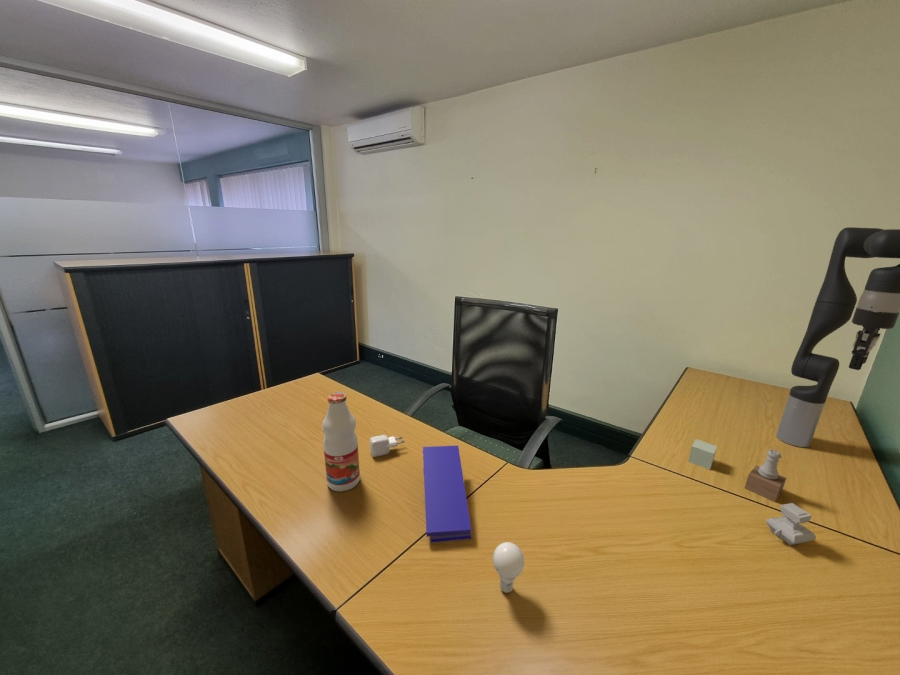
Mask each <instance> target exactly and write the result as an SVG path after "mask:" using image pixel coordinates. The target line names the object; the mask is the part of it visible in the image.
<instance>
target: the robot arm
mask: <svg viewBox="0 0 900 675" xmlns="http://www.w3.org/2000/svg"><path fill="white" fill-rule="evenodd" d="M846 258H855V259H856V258H858V259H859V258H860V259H873V258H882V259H900V229H899V228H898V229H897V228H896V229H895V228H894V229H893V228H891V229H890V228H889V229H883V228H877V227H855V226H854V227H849V226H848V227H844V228H842V229H841V230H840V231H839V232H838V234H837V236H836V238H835V240H834V243H833V248H832V250H831V254H830V259H829V262H828V266H827V269H826V273H825V276H824V280H823V282H822V285H821V288H820V289H819V292H818V295H817V297H816V300H815V303H814V306H813V308H812V311H811V315H810V318H809V321H808V326H807V328H806V331H805V334H804V336H803V338H802V341H801V343H800V346H799V347H798V350H797V352H796V355H795V357H794V360H793V361H792V365H791V369H790V370H791V371H790V373H791V374H792V375H793V377H797V378H801V379H804V380H809V381H813V382H815V383H817V384H813V385H795V386H792V387H791V388H790V391H789V394H788V396H787V401H786V403H785V407H784V410H783V413H782V416H781V420H780V422H779V425H778V429H777V432H776V437H777V439H778V440H780V442H784V443H786V444H788V445H791V446H795V447H799V448H810V446H811V443H812V441H813V438H814V435H815V432H816V430H817V427H818V424H819V421H820V418H821V416H822V413H823V410H824V406H825V404H826V401H827V398H828V395H829V392H830V390H831V387H832V385H833V383H834V380H835V378H836V376H837V374H838V370H840V361H839V359H838V358H835V357H832V356H828V355H823V354H817V353H812V352H813V351H814V348H816V346H817V345H818V344H819V343H820V342H821V341H822V340H824V339H825V338H827V337H828V336H829V335H830V334H832V333H834V332H835V331H837V330H839V329H840V328H841V327H843V326H844V325H846V324H847V323H848V322H849V321H850V320H851V323H853V324H854V325H856V326H862V330H858V331H857V332H856V334H855V340H854V342H853V345H852V347H853V349H852V350H851V355H852V356H851V359H850V362H849V365H848V368H849V369H850V370H855V371H860V370H861V369H862V367H863V365H864V364H866V363H867V360H868V358H869V354H870V352H871V351H872V350H873V348H875V346H876V345H877V342H878V340H879V339H880V337H881V333H879V332H880V331H881V329H882V330H891V329H893V328H894V327H895V325H896V322H897V319H898V317H899V315H900V263H899V264H897V265H893V266H884V267H876V268H873V269H872V270H870V272H869V276H868V277H867V281H866V284H865V286H864V289H863V292H862V293H861V295H860V297H859V299H858V297H857V294H856V292H855V289H854V288H853V285H852V284H851V282H850V280H849V278H848V275H847V272H846V267H845V266H846V264H845V263H846ZM857 302H858V303H857ZM856 305H857V306H856ZM853 313H854V314H853ZM851 318H852V319H851Z"/></svg>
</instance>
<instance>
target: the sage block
mask: <svg viewBox="0 0 900 675" xmlns="http://www.w3.org/2000/svg"><path fill="white" fill-rule="evenodd" d="M717 448H718V445H715V444H711V443H710V442H706V441H703V440H701V439H697V438H695V439H694V442H693V443H692V445H691V448H690V454H689V457H688V461H687V462H688V463H691V464H693V465H697V466H699V467H701V468H705V469H706V470H709V471H710V470H711V468H712V466H713V462H714V460H715V456H716V455H715V454H716V451H717Z"/></svg>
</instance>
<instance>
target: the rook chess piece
mask: <svg viewBox="0 0 900 675" xmlns="http://www.w3.org/2000/svg"><path fill="white" fill-rule="evenodd" d="M766 454H767V456H765V457H766V460H765V461H764V463H763V464H762V465H760V466H759V470H758V472H759V474H760V475H761V476H763V477H765V478H767V479H771V480H775V479H777V478H778V474H779V472H778V469H777V468H778V463H780V460H779V459H781V458H782V455H781V454H782V453H781V451H779V450H778V451H777V449H773V448H771V449H768V451H766Z"/></svg>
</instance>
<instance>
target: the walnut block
mask: <svg viewBox="0 0 900 675" xmlns="http://www.w3.org/2000/svg"><path fill="white" fill-rule="evenodd" d="M759 467H760V466H759V465H757V464H756V465H755V466H754V467H753V469H752V470H751V471H750V472H749V473H748V475H747V478H746V482H745V486H744V489H746V490H748V491H750V492H753V493H755V494H757V495H758V496H761V497H762V498H765V499H767V500H770V501H772V502H774V503H775V502H776V501H777V500H778V499H779V496H780V495H781V494H782V492H783V489H784V486H785V483H786V480H787V477H786V476H783V475H782V474H779V473H778V478H777V479H775V480H771V479H767V478H765V477H763V476H761V475H760V474H759V472H758V470H759Z"/></svg>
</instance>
